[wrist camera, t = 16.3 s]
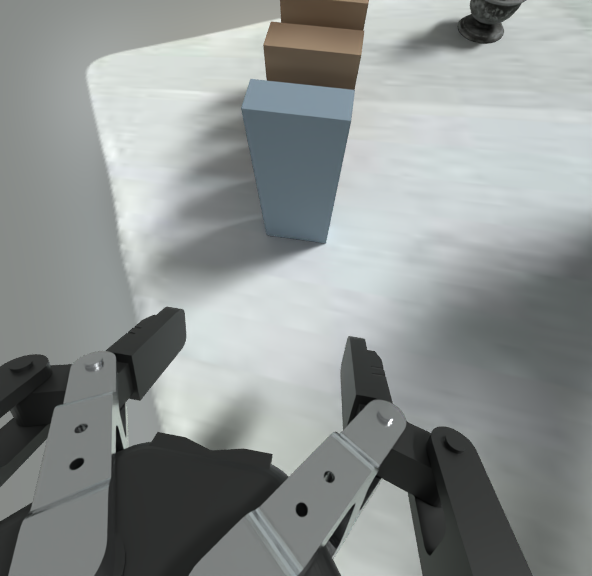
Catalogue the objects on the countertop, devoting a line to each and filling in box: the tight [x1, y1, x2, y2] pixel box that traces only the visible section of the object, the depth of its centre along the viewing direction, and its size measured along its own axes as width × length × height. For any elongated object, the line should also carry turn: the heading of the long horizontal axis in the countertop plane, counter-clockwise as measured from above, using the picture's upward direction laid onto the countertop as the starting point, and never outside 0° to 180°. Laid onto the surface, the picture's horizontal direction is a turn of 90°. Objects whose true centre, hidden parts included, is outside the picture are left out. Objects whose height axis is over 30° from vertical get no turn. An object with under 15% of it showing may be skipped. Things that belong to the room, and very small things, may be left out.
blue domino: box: [241, 79, 355, 243], centre depth 18 cm, size 2×5×11 cm, turn 81°
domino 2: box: [263, 22, 364, 90], centre depth 19 cm, size 2×5×11 cm, turn 81°
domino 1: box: [280, 0, 369, 31], centre depth 21 cm, size 2×5×11 cm, turn 80°
